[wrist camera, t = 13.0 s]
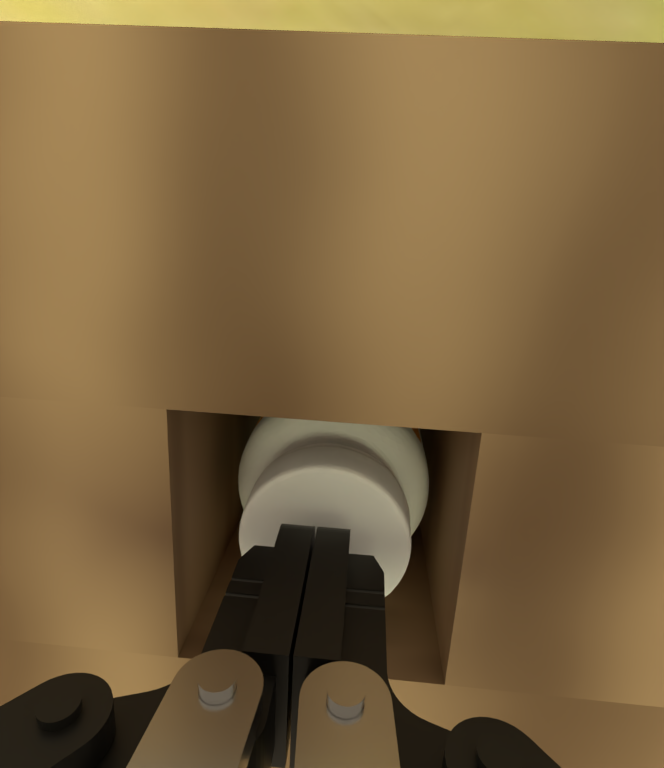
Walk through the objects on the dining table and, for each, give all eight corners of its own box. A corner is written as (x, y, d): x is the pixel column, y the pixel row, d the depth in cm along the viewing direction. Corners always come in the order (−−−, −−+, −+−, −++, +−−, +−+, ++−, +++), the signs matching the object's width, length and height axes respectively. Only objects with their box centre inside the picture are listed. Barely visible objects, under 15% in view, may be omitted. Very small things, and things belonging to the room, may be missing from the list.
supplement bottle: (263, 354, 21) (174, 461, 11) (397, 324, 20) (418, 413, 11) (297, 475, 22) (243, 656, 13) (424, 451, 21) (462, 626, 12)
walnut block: (642, 149, 18) (995, 53, 8) (544, 615, 24) (672, 910, 14) (91, 124, 20) (-234, 12, 9) (126, 576, 26) (-45, 821, 15)
